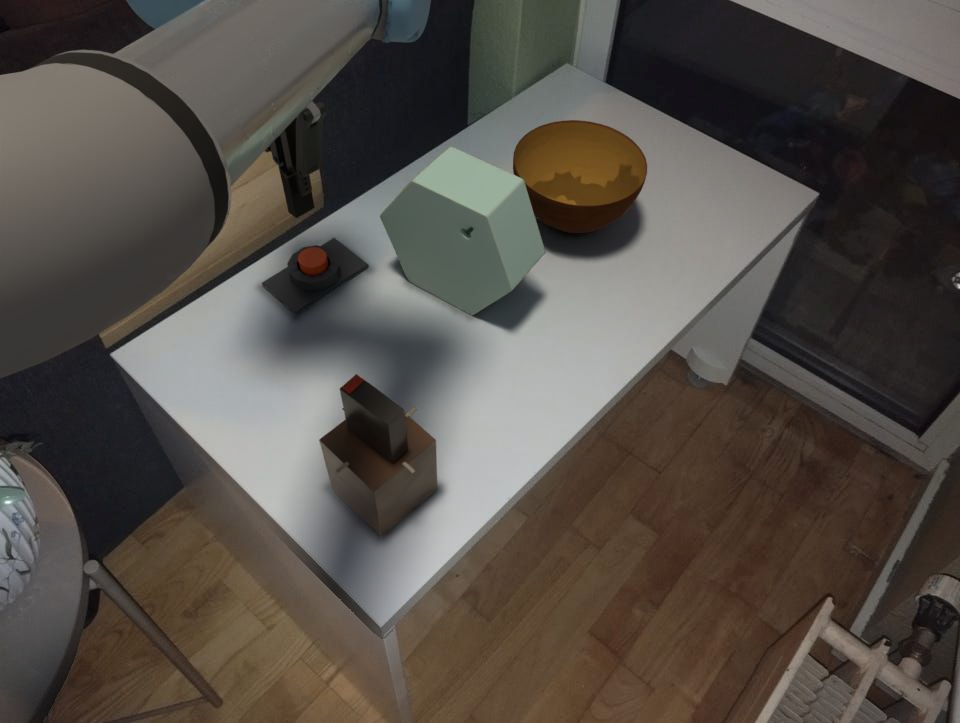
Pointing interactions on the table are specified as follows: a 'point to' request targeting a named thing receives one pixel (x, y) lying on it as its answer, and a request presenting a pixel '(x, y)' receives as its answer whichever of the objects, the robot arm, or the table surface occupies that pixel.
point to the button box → (314, 277)
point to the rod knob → (374, 418)
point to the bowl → (579, 174)
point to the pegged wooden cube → (381, 474)
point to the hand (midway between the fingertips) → (301, 209)
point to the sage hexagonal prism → (464, 231)
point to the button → (313, 261)
